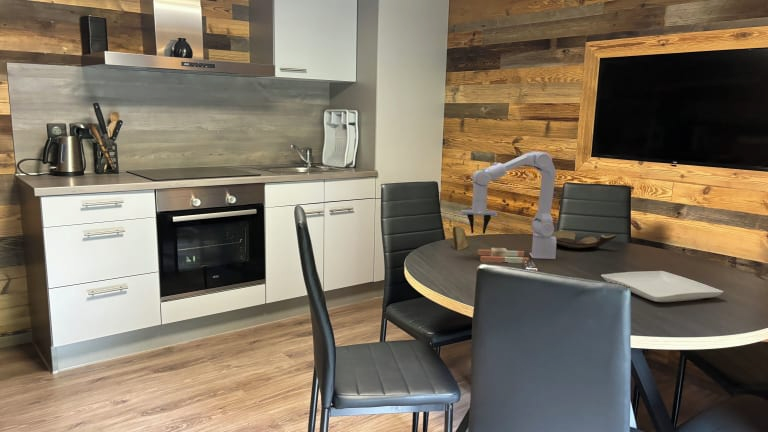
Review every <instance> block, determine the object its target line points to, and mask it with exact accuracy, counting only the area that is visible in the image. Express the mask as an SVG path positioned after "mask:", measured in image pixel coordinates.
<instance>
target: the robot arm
mask: <svg viewBox="0 0 768 432" xmlns="http://www.w3.org/2000/svg"><path fill="white" fill-rule="evenodd" d="M522 166H531V167H532V168H535V169H536V170H537V171H538V172H539V173H540V174H541V180H540V188H539V189H540V190H539V195H538V196H539V197H538V205H537V212H536V213H535V214H534V218H533V220H532V222H531V225H530V228H531V230H532V231H533V234H532V243H531V246H532V247H531V252H529V255H530V256H531V258H532V259H546V260H547V259H549V260H556V259H557V258H556V257H557V256H556V254H557V243H556V237H553V236H551V235H552V234H553V232H554V231H555V227H554V219H553V216H552V206H553V200H554V199H553V198H554V191H555V190H554V189H555V183H556V174H557V171H556V168H555V165H554V162H553V157H552V156H550V154H548V152H545V151H544V152H542V151H537V150H532V151H531V152H526V153H524V154H522V155H520V156H518V157H516V158H513V159H511V160H509V161H507V162H505V163H502V162H496V161H495V162H493V163H492V165H490V166H488V167H482V170H479V169H478V170H475V171H474V172H473V174H472V176H471V181H472V182H473V184H472V185H473V188H472V203H471V207H472V208H471V209H461V210H460V215H461V216H466V217H467V219H468V221H469V222H468V223H469V226H470V231H471V234H474V221H475V217H476V216H479V217H481V216H482V217H483V224H482V226H483V227H482V234H486V229H487V227H488V225H489V222H490V221H491V219H492V217H498V211H497V210H489V209H488V210H487V207H488V206H487V205H488V203H487V201H488V185H489V183H490V182H492V181H495V180H497V179H499V178H502V177H504V176H506V173H507V172H508V171H511V170H514V169H517V168H519V167H522ZM474 216H475V217H474Z"/></svg>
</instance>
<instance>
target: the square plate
mask: <svg viewBox="0 0 768 432" xmlns="http://www.w3.org/2000/svg"><path fill="white" fill-rule="evenodd" d="M600 276H601V277H602V278H603V279H604V280H605V281H606V282H607V283H609V282H612V283H617V284H621V285H625V286H627V287H630V289H631V291H632V292H631V293H632V294H634V295H637V296H640V297H641V298H644V299H647V300H650V301H652V302H656V303H657V302H658V303H672V302H684V301H694V300H695V301H696V300H703V299H709V298H710V299H711V298H715V297H718V296H720V295H722V294H723V293H724V292H725V291H724V290H721V289H718V288H716V287H713V286H711V285H707V284H705V283H701V282H698V281H696V280H693V279H689V278H687V277H684V276H680V275H677V274H674V273H670V272H668V271H664V270H654V271H651V270H650V271H648V270H647V271H626V272H614V273H606V274H605V273H604V274H601V275H600Z"/></svg>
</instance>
